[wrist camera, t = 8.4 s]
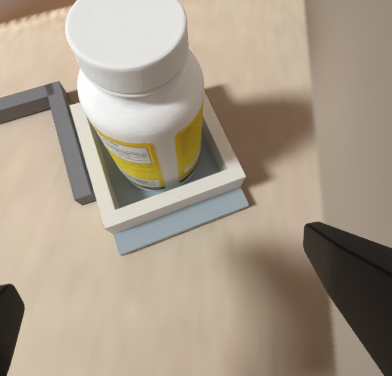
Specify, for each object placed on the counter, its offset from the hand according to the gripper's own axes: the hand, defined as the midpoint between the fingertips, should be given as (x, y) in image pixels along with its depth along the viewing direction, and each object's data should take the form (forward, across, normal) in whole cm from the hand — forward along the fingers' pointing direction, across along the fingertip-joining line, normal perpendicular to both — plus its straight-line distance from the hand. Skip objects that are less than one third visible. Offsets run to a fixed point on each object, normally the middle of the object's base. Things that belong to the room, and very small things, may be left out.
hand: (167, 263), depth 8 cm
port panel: (+11, 0, 0) cm, 11 cm away
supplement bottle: (+11, 0, 0) cm, 11 cm away
